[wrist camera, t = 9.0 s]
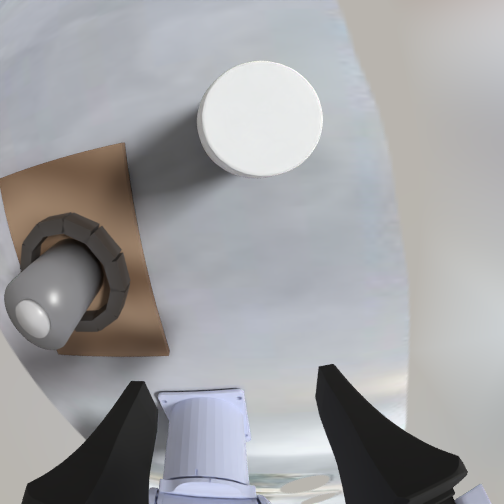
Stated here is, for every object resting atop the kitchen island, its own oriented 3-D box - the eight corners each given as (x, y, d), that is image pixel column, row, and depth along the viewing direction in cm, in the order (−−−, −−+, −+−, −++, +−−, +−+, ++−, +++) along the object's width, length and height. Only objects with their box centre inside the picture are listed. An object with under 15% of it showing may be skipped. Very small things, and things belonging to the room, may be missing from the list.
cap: (111, 297, 19) (78, 355, 13) (60, 300, 19) (22, 352, 13) (93, 234, 17) (45, 279, 12) (41, 242, 17) (-10, 284, 11)
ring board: (169, 350, 22) (166, 367, 20) (61, 350, 22) (53, 364, 20) (124, 142, 16) (113, 144, 14) (3, 177, 15) (-13, 183, 14)
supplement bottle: (288, 161, 17) (337, 185, 10) (211, 168, 17) (198, 199, 9) (281, 85, 15) (327, 49, 8) (202, 92, 15) (181, 58, 8)
